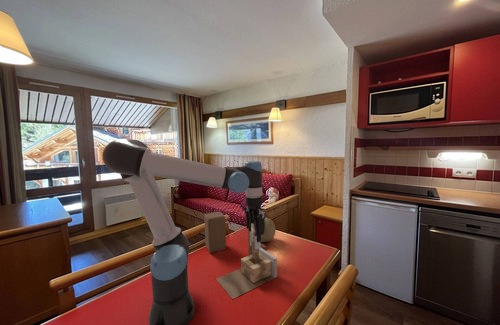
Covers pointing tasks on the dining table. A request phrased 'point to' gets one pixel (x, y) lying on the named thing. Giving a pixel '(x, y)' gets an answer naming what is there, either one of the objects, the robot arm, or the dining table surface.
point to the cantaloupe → (268, 230)
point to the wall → (273, 261)
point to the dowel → (254, 251)
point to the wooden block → (251, 246)
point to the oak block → (256, 268)
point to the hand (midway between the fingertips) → (255, 246)
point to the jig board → (239, 283)
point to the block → (215, 231)
